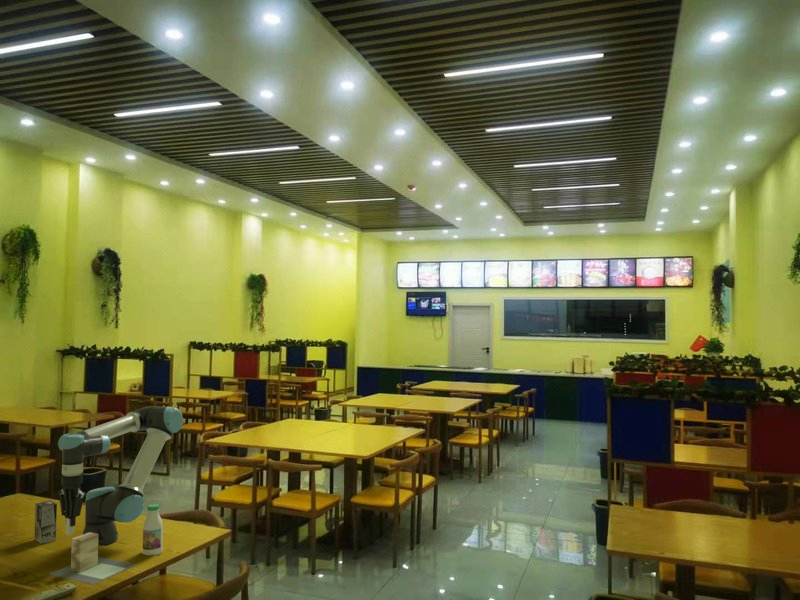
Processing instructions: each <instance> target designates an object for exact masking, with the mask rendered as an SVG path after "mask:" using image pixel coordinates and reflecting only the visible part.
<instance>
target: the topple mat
mask: <svg viewBox="0 0 800 600" xmlns="http://www.w3.org/2000/svg"><path fill="white" fill-rule="evenodd" d="M137 565H138V564H137V563H131V562H126V561H121V560H116V559H111V558H106V557H102V556H98V565H96V566H93V567H91V568H88V569H86V570H84V571H81V572H77V571H73V570H71V564H70V565H68V566H65V567H63V568H61V569H60V568H59V569H57V570H55V571H52V572H50V573H49V575H50V576H55V577H58V578H59V577H60V578H65V579H67V580H68V579H69V580H72V581H76V582H81V583H85V584H90V585H96V584H98V583H101V582H102V581H104V580H107V579H109V578H111V577H114V576H115V575H118V574H121V573H123V572H124V571H126V570H129V569H131V568H134V567H135V566H137Z"/></svg>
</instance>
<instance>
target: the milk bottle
mask: <svg viewBox="0 0 800 600" xmlns="http://www.w3.org/2000/svg"><path fill="white" fill-rule="evenodd" d="M159 511H160V504H158V503H152V504H149V505H148V506H147V516H146V518H145V521H144V523H143V527H142V528H143V529H142V555H146V556H158V555H161V554H162V553H163V539H164V538H163V536H164V535H163V534H164V533H163V531H164V530H163V520H162V517H161V515H160V513H159Z"/></svg>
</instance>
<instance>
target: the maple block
mask: <svg viewBox="0 0 800 600" xmlns="http://www.w3.org/2000/svg"><path fill="white" fill-rule="evenodd" d="M82 534H83V533H82ZM82 534H80V535H78V536H75V537H73V538H72V537H71V552H70V553H71V554H70V555H71V556H70V565H71V570H73V571H77V572H81V571H84V570H86V569H88V568H91V567H93V566H96V565H98V557H99V545H98V534H96V533H91V532H89V533H86V534H83V535H82Z"/></svg>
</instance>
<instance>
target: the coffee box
mask: <svg viewBox="0 0 800 600" xmlns="http://www.w3.org/2000/svg"><path fill="white" fill-rule="evenodd" d="M34 505H35V507H34V511H35V512H34V540H35V541H37V542H38V543H39V544H46V543H50V542H54V541H56V539H57V538H56V536H57V513H58V512H57V511H58V504H57V503H56V502H54V501H52V500H46V501H41V502H37V503H36V502H35V504H34Z"/></svg>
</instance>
